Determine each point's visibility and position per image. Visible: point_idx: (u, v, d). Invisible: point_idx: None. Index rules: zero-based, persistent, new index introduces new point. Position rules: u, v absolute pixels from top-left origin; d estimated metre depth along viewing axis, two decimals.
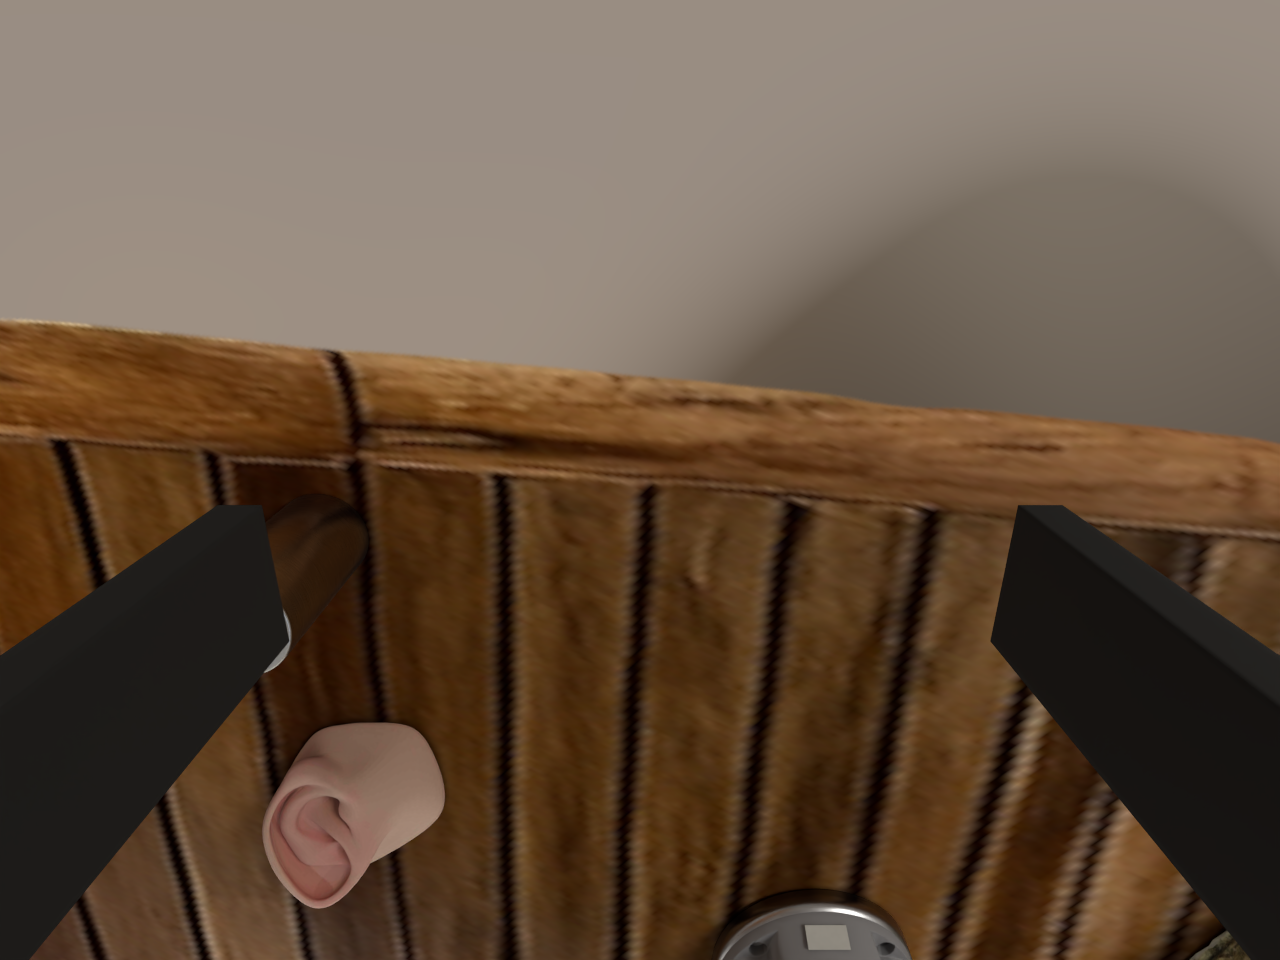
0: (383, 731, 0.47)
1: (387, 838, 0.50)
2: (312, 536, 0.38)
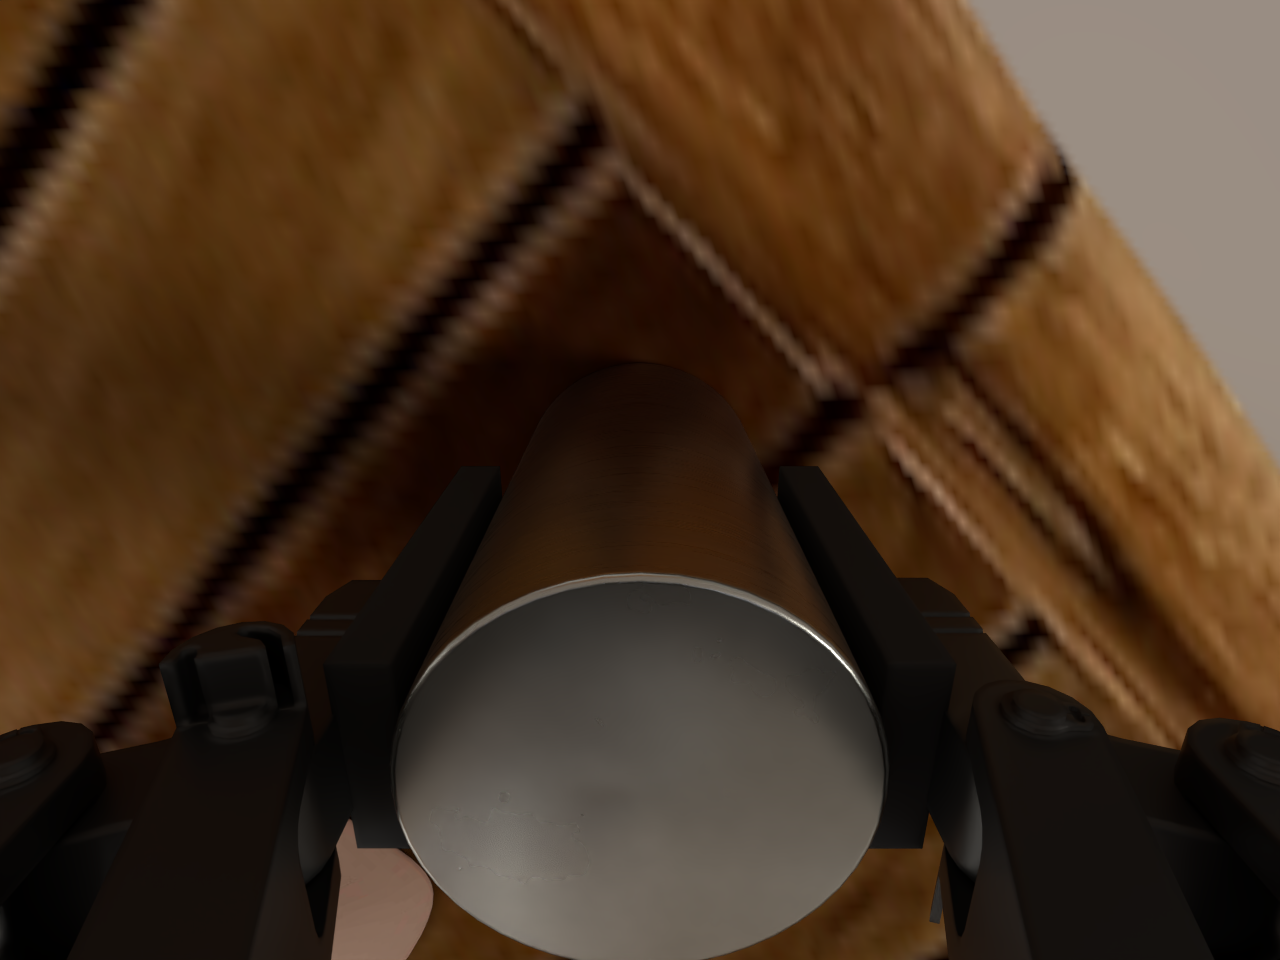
0: (377, 862, 0.21)
1: None
2: None
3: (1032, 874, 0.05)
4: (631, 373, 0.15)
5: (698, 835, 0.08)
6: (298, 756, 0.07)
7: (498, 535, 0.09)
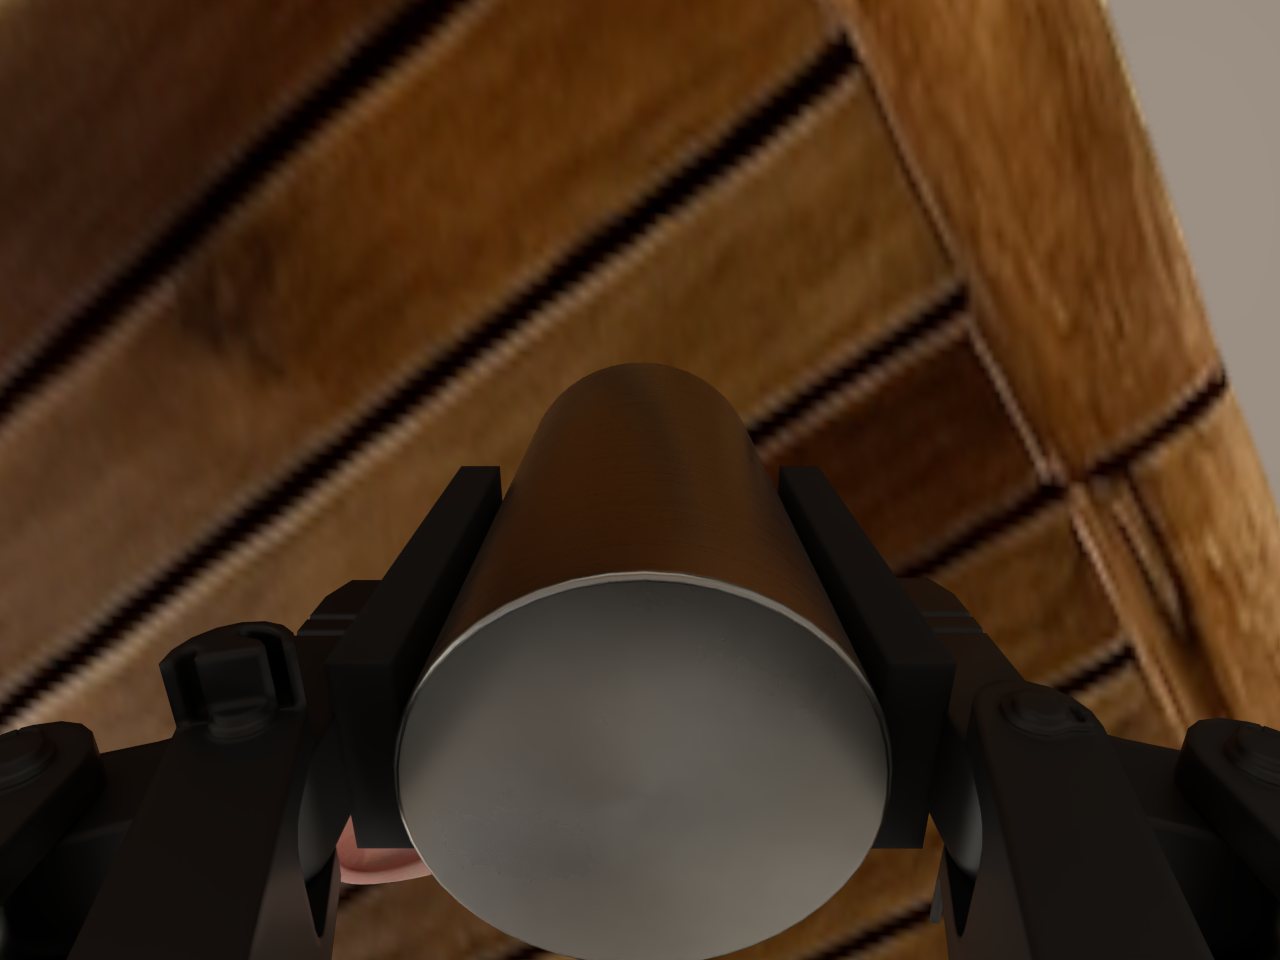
0: None
1: None
2: None
3: (1032, 874, 0.05)
4: (633, 372, 0.15)
5: (701, 833, 0.08)
6: (298, 756, 0.07)
7: (501, 534, 0.09)
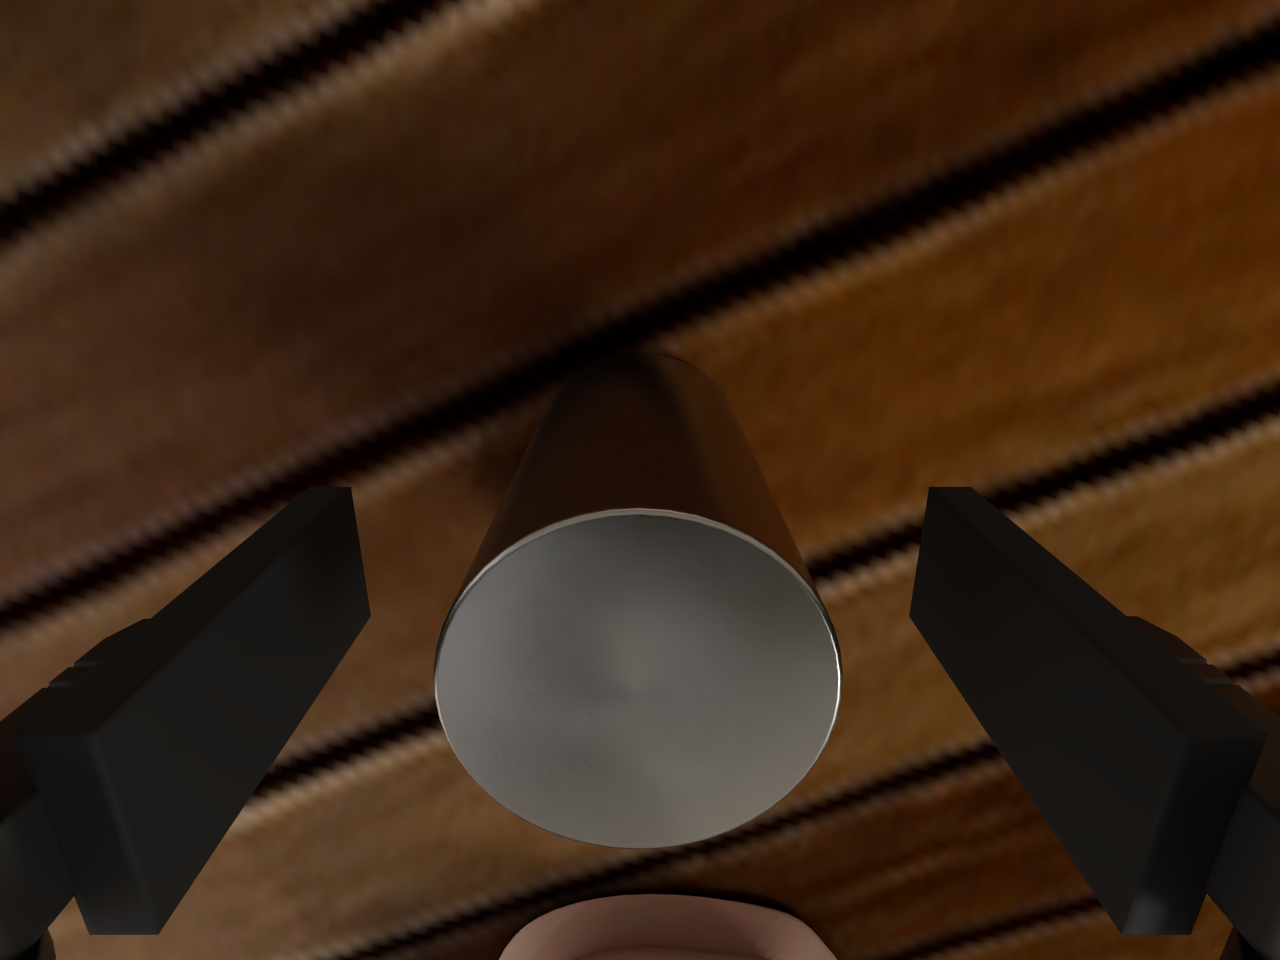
0: None
1: None
2: None
3: None
4: (631, 360, 0.17)
5: (686, 730, 0.10)
6: None
7: (519, 490, 0.11)
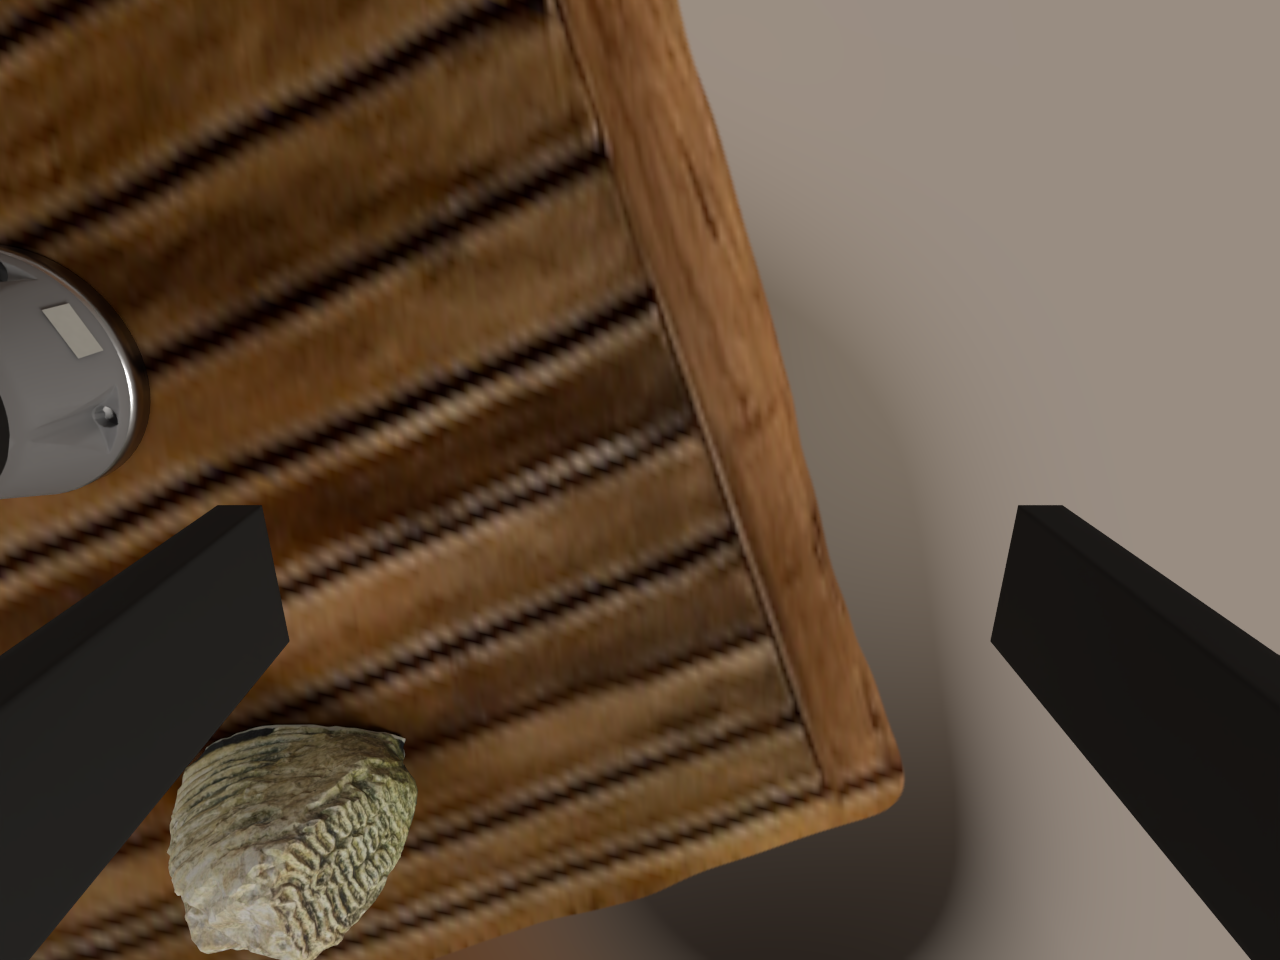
0: None
1: None
2: None
3: None
4: None
5: None
6: None
7: None
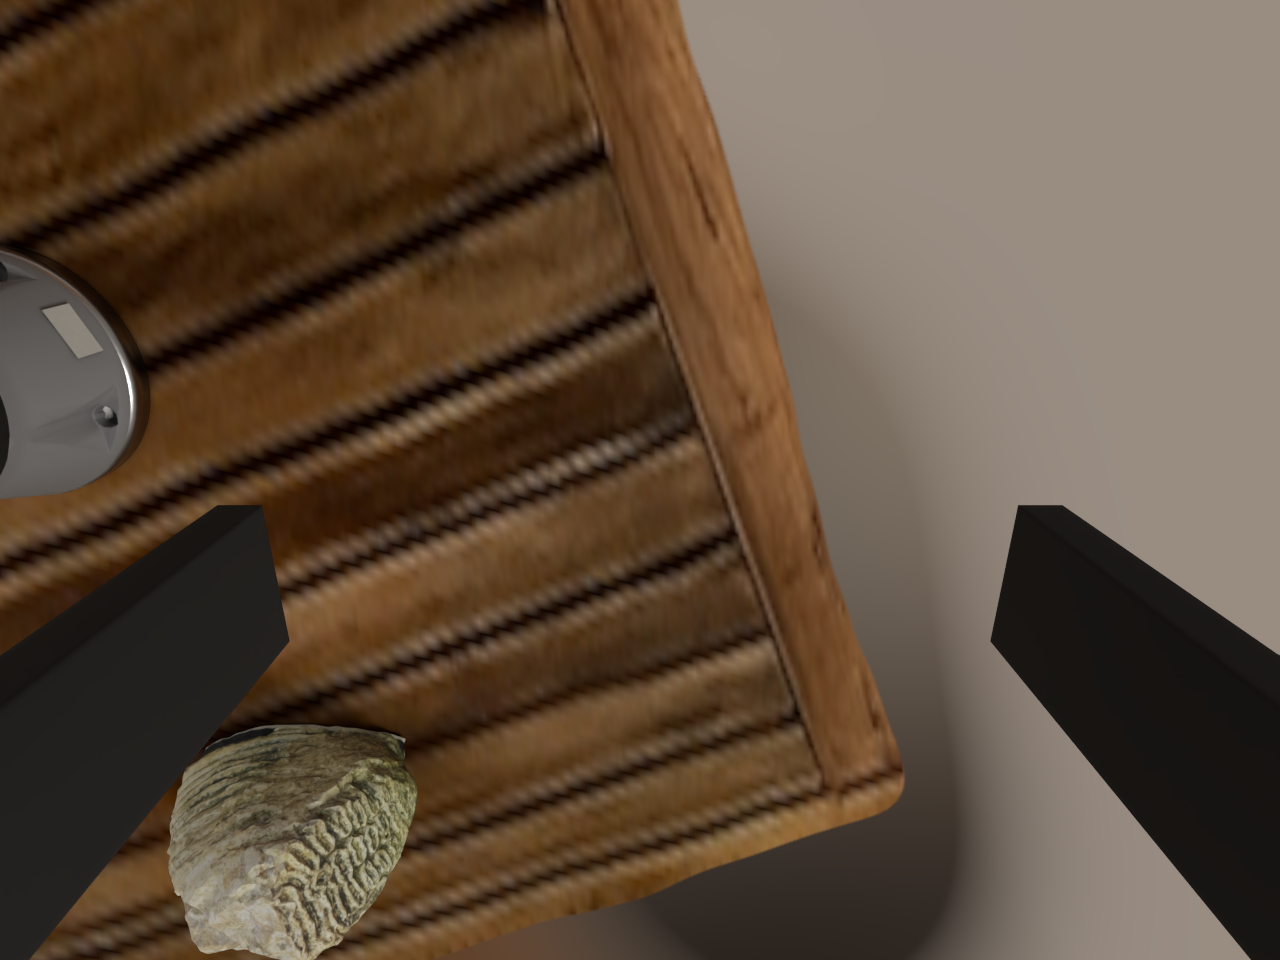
0: None
1: None
2: None
3: None
4: None
5: None
6: None
7: None
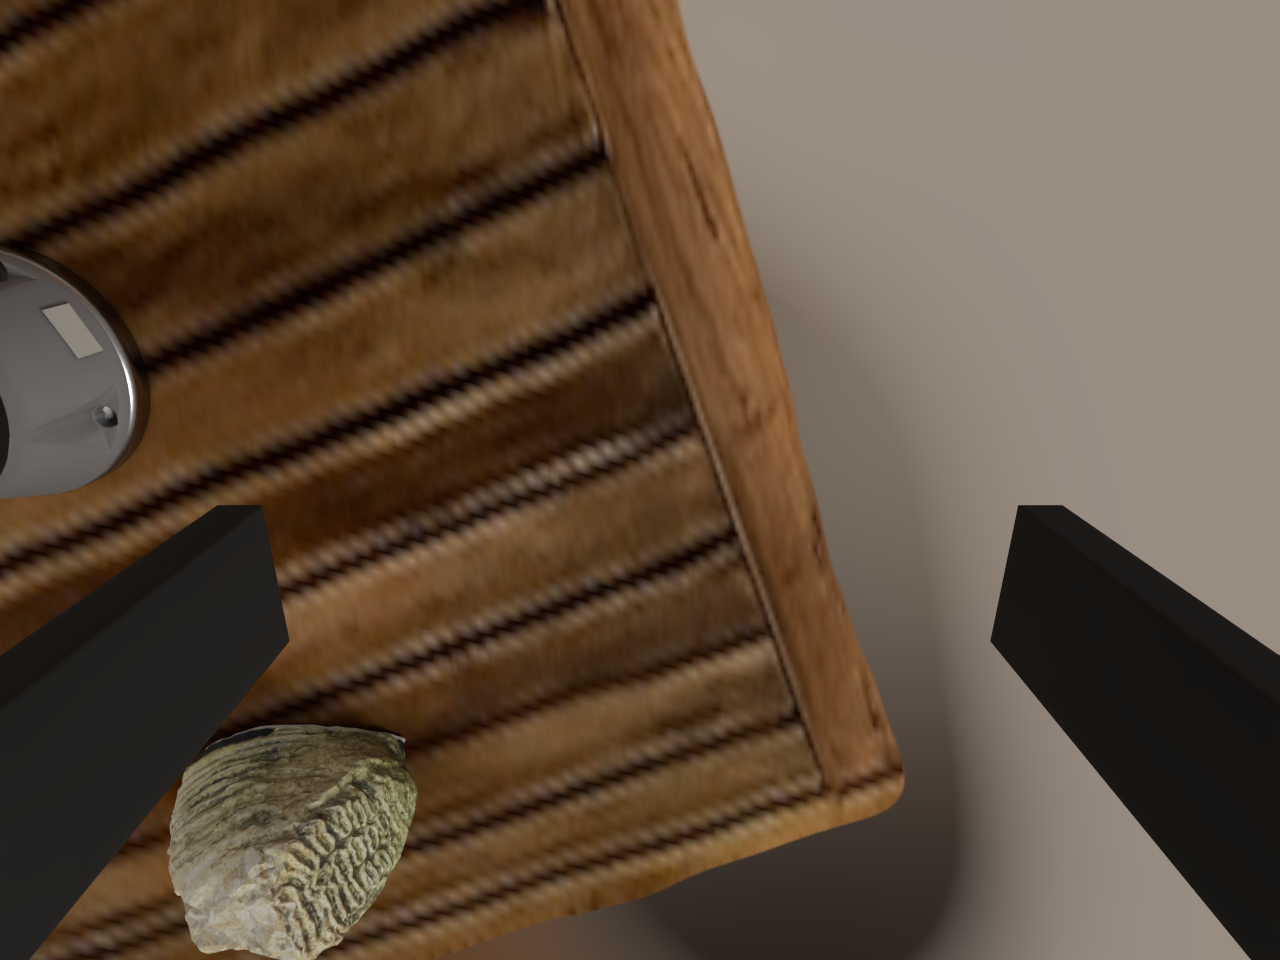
0: None
1: None
2: None
3: None
4: None
5: None
6: None
7: None
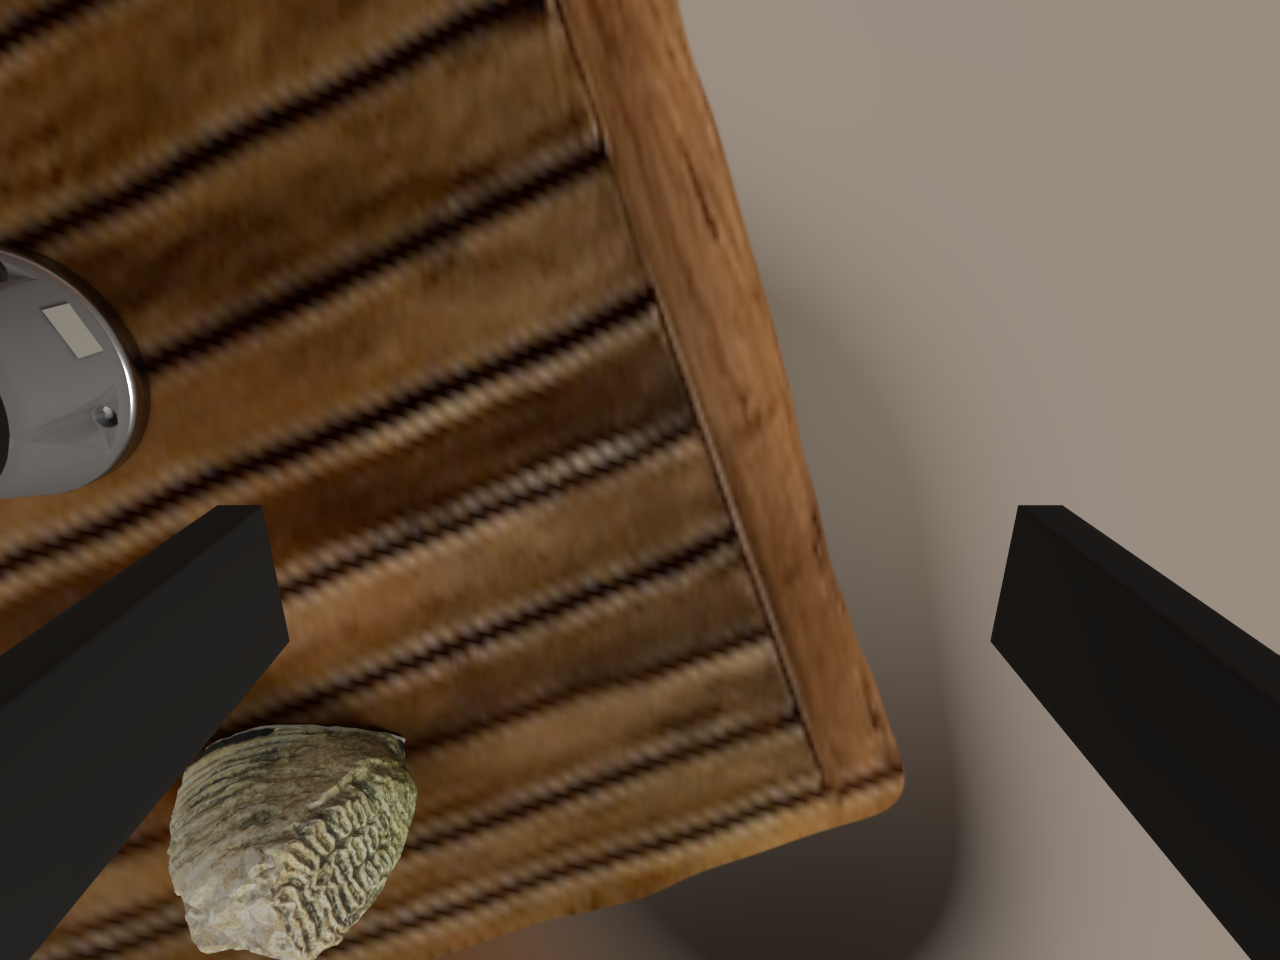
0: None
1: None
2: None
3: None
4: None
5: None
6: None
7: None
